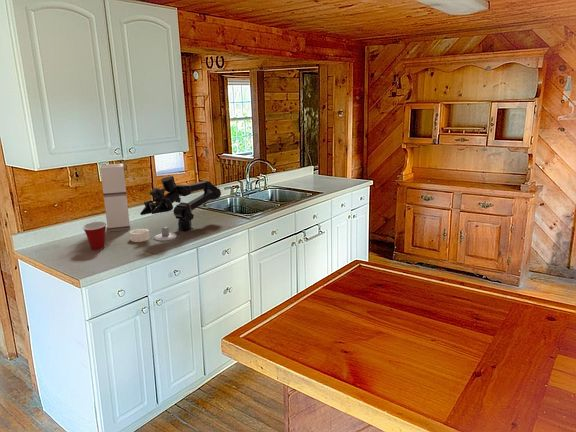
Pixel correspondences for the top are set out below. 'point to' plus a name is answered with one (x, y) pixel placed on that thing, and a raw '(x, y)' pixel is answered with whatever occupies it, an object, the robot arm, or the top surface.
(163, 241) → the mat
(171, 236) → the lid
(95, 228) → the plastic cup
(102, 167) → the mini fridge
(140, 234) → the bowl
